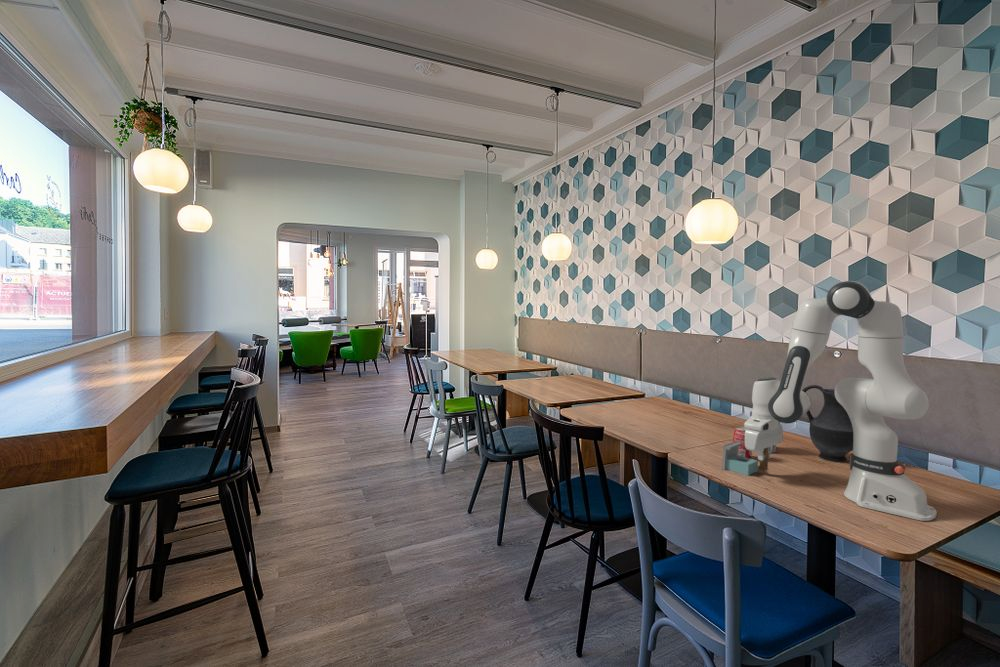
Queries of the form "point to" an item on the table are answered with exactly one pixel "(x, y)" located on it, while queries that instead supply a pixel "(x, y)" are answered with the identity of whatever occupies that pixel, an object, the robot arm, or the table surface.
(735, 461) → the socket station
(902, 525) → the table surface
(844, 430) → the pitcher
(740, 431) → the soda can
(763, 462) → the peg
